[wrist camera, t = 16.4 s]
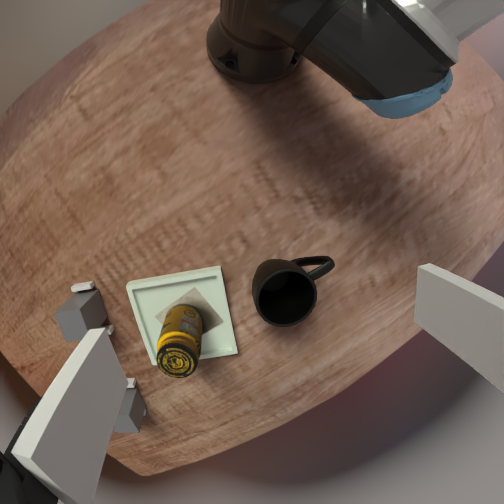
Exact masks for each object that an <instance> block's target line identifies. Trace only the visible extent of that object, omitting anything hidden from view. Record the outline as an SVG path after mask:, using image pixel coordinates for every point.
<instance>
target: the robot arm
mask: <svg viewBox="0 0 504 504" xmlns="http://www.w3.org/2000/svg"><path fill="white" fill-rule="evenodd" d="M502 13H504V0H220V13H219V14H218V15H217V17H216V18H215V19H214V20H213V22H212V23H211V25H210V27H209V29H208V32H207V39H206V42H207V52H208V55H209V57H210V59H211V61H212V63H213V64H214V65H215V66H216V67H217V68H218V69H219V70H220V71H221V72H222V73H224V74H225V75H227V76H229V77H231V78H233V79H236V80H238V81H242V82H246V83H257V84H259V83H269V82H273V81H276V80H279V79H281V78H283V77H285V76H286V75H288V74H289V73H290V72H291V71H292V70H293V69H294V68H295V67H296V66H297V64H298V63H299V61H300V60H301V58H302V56H304V57H305V58H307V59H308V60H309V61H311V62H312V63H314V64H315V65H316V66H318V67H319V68H320V69H322V70H323V71H324V72H325V73H327V74H328V75H329V76H331V77H332V78H333V79H334V80H336V81H337V82H338V83H339V84H341V85H342V86H343V87H344V88H345V89H347V90H348V91H349V92H350V93H351V94H352V96H353V97H354V98H355V99H356V100H358V101H361V102H363V103H364V104H365V105H366V106H367V107H369V108H370V109H371V110H372V111H373V112H375V113H376V114H377V115H379V116H381V117H385V118H390V119H399V118H405V117H409V116H412V115H414V114H417V113H419V112H421V111H423V110H425V109H427V108H429V107H430V106H432V105H433V104H435V103H436V102H437V101H439V100H440V99H441V95H442V94H444V93H447V91H448V90H449V89H450V87H451V85H452V81H453V75H452V73H451V69H450V67H451V66H453V65H454V64H456V63H457V62H458V56H459V48H458V47H459V43H460V42H461V41H462V40H464V39H465V38H466V37H468V36H469V35H471V34H472V33H474V32H475V31H477V30H478V29H480V28H481V27H482V26H484V25H486V24H487V23H488V22H490V21H491V20H493V19H495V18H496V17H498V16H499V15H501V14H502ZM413 321H414V322H415V323H416V324H418V325H419V326H420V327H422V328H423V329H424V330H426V331H427V332H428V333H429V334H431V335H432V336H433V337H435V338H436V339H437V340H439V341H440V342H441V343H442V344H444V345H445V346H446V347H447V348H449V349H450V350H451V351H453V352H454V353H455V354H456V355H458V356H459V357H460V358H461V359H463V360H464V361H465V362H466V363H468V364H469V365H470V366H471V367H473V368H474V369H475V370H476V371H478V372H479V373H480V374H481V375H482V376H484V377H485V378H486V379H487V380H488V381H490V382H491V383H492V384H493V385H494V386H496V387H497V388H498V389H499V390H500V391H502V392H503V393H504V298H503V297H501V296H499V295H497V294H495V293H493V292H491V291H489V290H487V289H485V288H483V287H480V286H479V285H477V284H475V283H472V282H470V281H468V280H466V279H464V278H462V277H460V276H457V275H455V274H453V273H451V272H449V271H446V270H444V269H442V268H440V267H437V266H435V265H433V264H430V263H428V264H425V265H421V266H418V269H417V287H416V300H415V311H414V320H413ZM128 383H129V382H128V380H127V378H126V376H125V374H124V371H123V369H122V367H121V365H120V362H119V360H118V358H117V356H116V353H115V351H114V348H113V346H112V344H111V341H110V339H109V336H108V333H107V331H106V328H98V329H90V330H89V331H88V332H87V334H86V335H85V336H84V338H83V339H82V340H81V342H80V343H79V344H78V346H77V347H76V349H75V350H74V351H73V353H72V354H71V356H70V357H69V359H68V360H67V361H66V363H65V364H64V366H63V367H62V369H61V370H60V372H59V373H58V375H57V376H56V378H55V379H54V381H53V382H52V384H51V385H50V387H49V388H48V390H47V391H46V393H45V394H44V396H42V397H41V398H40V399H39V400H37V401H36V402H35V403H34V404H33V405H32V407H31V409H30V410H29V412H28V413H27V417H25V418H24V420H23V421H22V425H20V426H19V428H18V430H17V432H16V433H15V435H14V437H13V439H12V440H11V442H10V444H9V446H8V448H7V449H6V451H5V453H4V455H3V454H2V453H1V451H0V504H57V502H58V499H60V500H61V501H62V502H63V503H64V504H93V500H94V496H95V492H96V488H97V484H98V480H99V476H100V473H101V469H102V465H103V461H104V458H105V455H106V451H107V448H108V444H109V441H110V438H111V434H112V431H113V428H114V425H115V422H116V418H117V415H118V412H119V409H120V406H121V403H122V400H123V397H124V394H125V391H126V389H127V386H128Z"/></svg>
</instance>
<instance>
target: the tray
mask: <svg viewBox="0 0 504 504" xmlns="http://www.w3.org/2000/svg"><path fill="white" fill-rule="evenodd" d="M194 287H195V288H196V289H197V290H198V291H199V293H200V294H201V295H202V296H203V297H204V299H205V300H206V301H207V302H208V303H209V304H210V305H211V307H212V308H213V309H214V310H215V311H216V313H217V314H218V315H219V316H220V318H221V319H222V320H223V322H222V323H220V324H219V325H217V326H215V327H214V328H212V329H211V330H209V331H208V332H207V333H205V334H203V335H202V344H201V355H200V358H199V360H200V359H206V358H213V357H219V356H225V355H231V354H237V353H238V351H237V346H236V341H235V336H234V331H233V327H232V322H231V317H230V312H229V307H228V302H227V297H226V292H225V287H224V282H223V276H222V271H221V266H214V267H208V268H203V269H197V270H191V271H186V272H180V273H174V274H169V275H163V276H157V277H151V278H146V279H140V280H134V281H129V282H128V283H127V285H126V288H127V292H128V295H129V299H130V302H131V305H132V308H133V311H134V314H135V317H136V321H137V323H138V326H139V329H140V332H141V335H142V338H143V341H144V343H145V346H146V349H147V351H148V354H149V357H150V359H151V362H152V364H153V365H157V361H156V356H157V343H158V339H159V336H160V333H161V329H162V326H163V325H162V324H161V323H160V322H159V320H158V319H157V318H156V317H155V316H156V315H157V314H158V313H159V312H161V311H162V310H163V309H165V308H166V307H168V306H169V305H170V304H172V303H173V302H175V301H176V300H177V299H179V298H180V297H182V296H183V295H184V294H186V293H187V292H188V291H190V290H191V289H192V288H194Z"/></svg>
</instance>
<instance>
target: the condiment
mask: <svg viewBox="0 0 504 504" xmlns="http://www.w3.org/2000/svg"><path fill="white" fill-rule="evenodd" d="M155 317H156V318H157V319H158V320H159V322H160V323H161V324H162V325H163V326H162V329H161V333H160V336H159V339H158V343H157V356H156V361H157V365H158V367H159V368H160V369H161V370H162V371H163V372H164V373H165V374H166V375H169V376H171V377H175V378H183V377H187V376H189V375H191V374H192V373H193V372H194V371H195V370H196V367H197V363H198V360H199V358H200V355H201V344H202V335H203V334H205V333H207V332H208V331H209V330H211V329H212V328H214V327H215V326H217V325H219V324H220V323H222V322H223V320H222V319H221V318H220V316H219V315H218V314H217V313H216V311H215V310H214V309H213V308H212V307H211V305H210V304H209V303H208V302H207V301H206V300H205V299H204V297H203V296H202V295H201V294H200V293H199V291H198V290H197V289H196V288H195V287H194V288H192V289H191V290H190V291H188V292H187V293H186V294H184V295H183V296H182V297H180V298H179V299H177V300H176V301H175V302H173V303H172V304H170V305H169V306H168V307H166V308H165V309H163V310H162V311H161V312H159V313H158V314H157V315H156V316H155Z"/></svg>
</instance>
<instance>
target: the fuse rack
mask: <svg viewBox="0 0 504 504" xmlns="http://www.w3.org/2000/svg"><path fill="white" fill-rule="evenodd" d="M94 286H95V284H94V281H90V282H84V283H79V284H74V285H73V286H72V287H71V290H72V292H75V291H81V290H87V289H91V288H93V287H94ZM54 313H55V315H56V318H57V320H58V323H59V325H60V328H61V330H62V333H63V335H64V338H65V340H66V341H80V340H82V339H83V338H84V336H85V335H86V334H87V332H88V331H89V330H90V329H98V328H106V331H107V333H108V335H110V334H112V332H113V331H114V326H113V325H107V326H101V325H102V323H103V322H104V321H105V319H106V318H107V314H106V311H105V308H104V305H103V302H102V299H101V295H100V292H99V289H98V290H92V291H86V292H80V293H75V294H74V295H73V296H72V297H71V298H69V299H68V300H67V301H66V302H65V303H64V304H63V305H62V306H61V307H60V308H59V309H58V310H56V311H55V312H54ZM127 380H128V382H129V383H128V386H127V389H126V391H125V394H124V397H123V400H122V403H121V406H120V409H119V412H118V415H117V418H116V422H115V425H114V430H115V431H116V433H140V428H141V424H142V420H143V416H145V414H146V409H145V407H146V405H145V403H144V401H143V399H142V397H141V395H140V393H139V391H138V389H137V388H134V387H135V384H136V379H135V378H127Z"/></svg>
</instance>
